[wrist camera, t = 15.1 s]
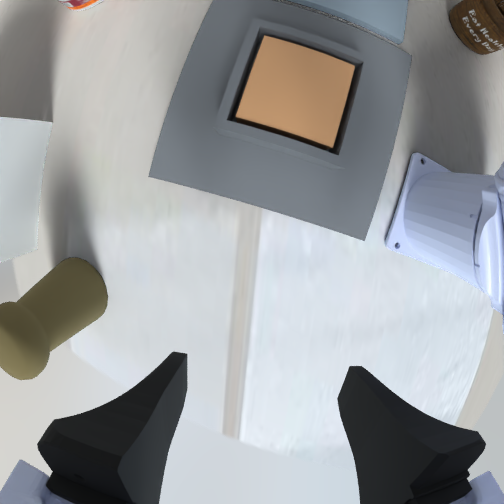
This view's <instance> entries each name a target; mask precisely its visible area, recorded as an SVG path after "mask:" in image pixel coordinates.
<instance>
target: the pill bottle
mask: <svg viewBox="0 0 504 504" xmlns="http://www.w3.org/2000/svg"><path fill="white" fill-rule="evenodd" d="M58 1H60V2H61V3H62V4H64V5H65V6H66V7H68V8H69V9H71V10H73V11H82V10H86V9H89V8H91V7H93V6H95V5H97V4H99V3H101V2H102V1H104V0H58Z"/></svg>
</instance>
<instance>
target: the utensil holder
mask: <svg viewBox="0 0 504 504" xmlns="http://www.w3.org/2000/svg"><path fill="white" fill-rule="evenodd" d="M449 16H450V22H451V25H452V27H453V29H454V31H455V33H456V34H457V36H458V37H459V38H460V40H461V41H462V42H463V43H464V44H465V45H466V46H467V47H468V48H469V49H471V50H472V51H474V52H476V53H478V54H482V55H484V54H489V53H492V52H495V51H498V50H501V49H503V48H504V0H463V1H461V2H460V3H458V4H457V5H456V6H454V7H453V8H452V9H451V11H450V15H449Z"/></svg>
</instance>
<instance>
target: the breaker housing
mask: <svg viewBox="0 0 504 504" xmlns="http://www.w3.org/2000/svg"><path fill="white" fill-rule="evenodd" d="M264 35H265V36H269V37H272V38H276V39H280V40H283V41H287V42H290V43H294V44H297V45H300V46H303V47H306V48H309V49H312V50H315V51H318V52H321V53H324V54H326V55H329V56H332V57H334V58H337V59H339V60H342V61H344V62H347V63H349V64H352V65H354V66H355V69H354V72H353V76H352V80H351V84H350V88H349V92H348V95H347V99H346V103H345V106H344V110H343V114H342V117H341V121H340V124H339V128H338V131H337V135H336V138H335V142H334V145H333V148H331V149H327V150H322V149H319V148H316V147H314V146H311V145H308V144H305V143H302V142H299V141H296V140H293V139H290V138H287V137H284V136H281V135H278V134H274V133H271V132H268V131H264V130H261V129H258V128H254V127H251V126H247V125H243V124H240V123H237V120H236V114H237V111H238V108H239V105H240V102H241V99H242V96H243V93H244V90H245V87H246V84H247V81H248V79H249V76H250V73H251V70H252V67H253V65H254V62H255V59H256V56H257V54H258V51H259V48H260V46H261V43H262V40H263V38H264ZM411 60H412V55H410V54H408V53H406V52H405V51H403V50H401V49H399V48H397V47H395V46H393V45H392V44H390V43H388V42H386V41H384V40H382V39H380V38H378V37H375V36H373V35H371V34H369V33H367V32H365V31H362V30H360V29H358V28H355V27H353V26H351V25H348V24H346V23H343V22H341V21H338V20H335V19H333V18H330V17H327V16H324V15H321V14H318V13H315V12H312V11H309V10H306V9H303V8H299V7H296V6H292V5H289V4H285V3H281V2H277V1H273V0H213V2H212V4H211V6H210V8H209V10H208V12H207V14H206V16H205V18H204V20H203V22H202V24H201V27H200V29H199V31H198V33H197V36H196V38H195V40H194V42H193V45H192V47H191V49H190V52H189V54H188V57H187V59H186V62H185V64H184V67H183V69H182V72H181V74H180V77H179V80H178V82H177V85H176V88H175V91H174V93H173V96H172V99H171V102H170V105H169V108H168V111H167V114H166V117H165V120H164V123H163V127H162V130H161V133H160V136H159V140H158V143H157V147H156V150H155V154H154V157H153V161H152V165H151V169H150V173H149V176H148V177H152V178H156V179H160V180H164V181H168V182H172V183H176V184H179V185H183V186H187V187H191V188H194V189H198V190H202V191H205V192H209V193H213V194H216V195H220V196H223V197H227V198H230V199H234V200H237V201H241V202H244V203H248V204H251V205H254V206H258V207H261V208H264V209H268V210H271V211H274V212H278V213H281V214H284V215H287V216H290V217H294V218H297V219H300V220H303V221H306V222H309V223H312V224H316V225H319V226H322V227H325V228H328V229H331V230H334V231H337V232H340V233H343V234H346V235H349V236H351V237H354V238H357V239H360V240H363V241H365V238H366V235H367V232H368V229H369V227H370V224H371V221H372V218H373V215H374V212H375V209H376V206H377V202H378V199H379V196H380V193H381V190H382V186H383V183H384V180H385V176H386V173H387V169H388V166H389V162H390V158H391V155H392V151H393V147H394V143H395V139H396V135H397V131H398V127H399V122H400V118H401V113H402V109H403V104H404V99H405V94H406V89H407V84H408V78H409V72H410V66H411Z"/></svg>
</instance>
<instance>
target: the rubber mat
mask: <svg viewBox="0 0 504 504" xmlns="http://www.w3.org/2000/svg"><path fill="white" fill-rule="evenodd" d="M287 1H291V2H294V3H298V4H301V5H305V6H308V7H311V8H314V9H317V10H320V11H323V12H326V13H329V14H332V15H334V16H337V17H340V18H342V19H345V20H347V21H350V22H352V23H355V24H357V25H359V26H362V27H364V28H366V29H368V30H371V31H373V32H375V33H377V34H379V35H381V36H383V37H385V38H387V39H389V40H391V41H393V42H395V43H397V44H400V43H402V42H403V39H404V32H405V24H406V16H407V7H408V0H287Z"/></svg>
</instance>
